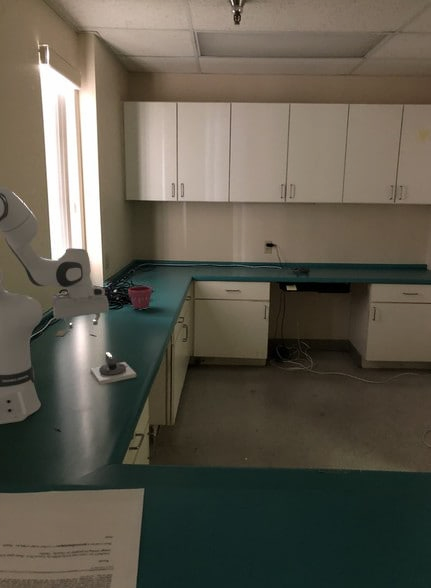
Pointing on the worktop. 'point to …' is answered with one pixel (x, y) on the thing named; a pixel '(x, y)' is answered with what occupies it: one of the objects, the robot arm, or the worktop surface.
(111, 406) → the worktop surface
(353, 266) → the worktop surface
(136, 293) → the plant pot
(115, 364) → the dial
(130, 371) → the dial base
